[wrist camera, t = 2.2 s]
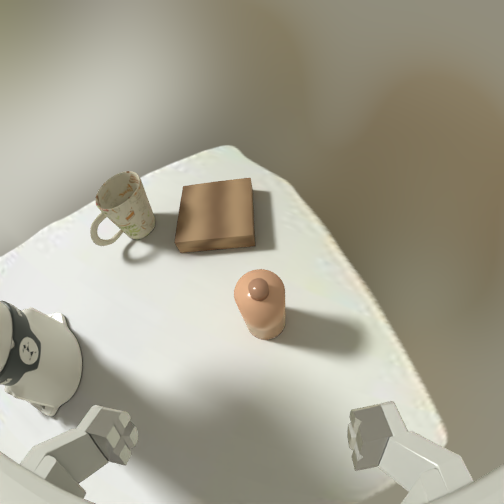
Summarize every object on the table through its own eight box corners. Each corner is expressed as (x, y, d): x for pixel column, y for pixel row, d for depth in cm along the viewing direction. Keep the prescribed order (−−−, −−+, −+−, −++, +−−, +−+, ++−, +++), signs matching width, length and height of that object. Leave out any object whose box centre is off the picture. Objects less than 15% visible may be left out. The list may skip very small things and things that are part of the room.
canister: (247, 340, 36) (232, 313, 26) (246, 304, 39) (232, 266, 29) (286, 338, 36) (286, 309, 26) (283, 301, 38) (282, 261, 29)
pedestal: (180, 252, 44) (174, 242, 42) (187, 197, 51) (183, 186, 48) (255, 246, 43) (253, 235, 41) (252, 189, 50) (250, 177, 47)
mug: (170, 219, 48) (149, 180, 40) (120, 271, 44) (89, 238, 36) (144, 202, 52) (123, 165, 43) (99, 247, 47) (70, 215, 39)
